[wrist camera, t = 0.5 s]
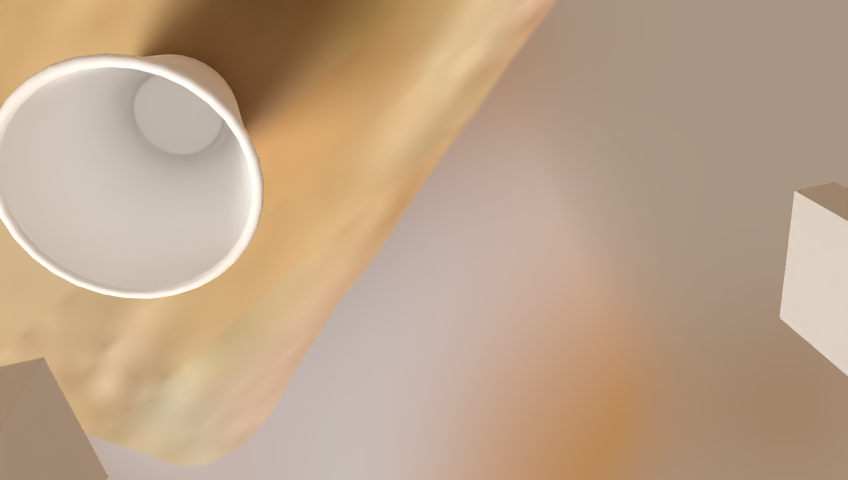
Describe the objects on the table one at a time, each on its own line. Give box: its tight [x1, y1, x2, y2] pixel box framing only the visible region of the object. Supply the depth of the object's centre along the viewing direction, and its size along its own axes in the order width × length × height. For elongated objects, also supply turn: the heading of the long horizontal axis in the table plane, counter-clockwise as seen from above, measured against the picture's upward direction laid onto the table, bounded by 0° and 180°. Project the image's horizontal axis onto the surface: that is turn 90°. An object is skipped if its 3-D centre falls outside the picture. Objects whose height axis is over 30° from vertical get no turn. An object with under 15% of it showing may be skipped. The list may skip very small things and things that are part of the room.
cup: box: [0, 53, 264, 298], centre depth 30 cm, size 10×10×11 cm
